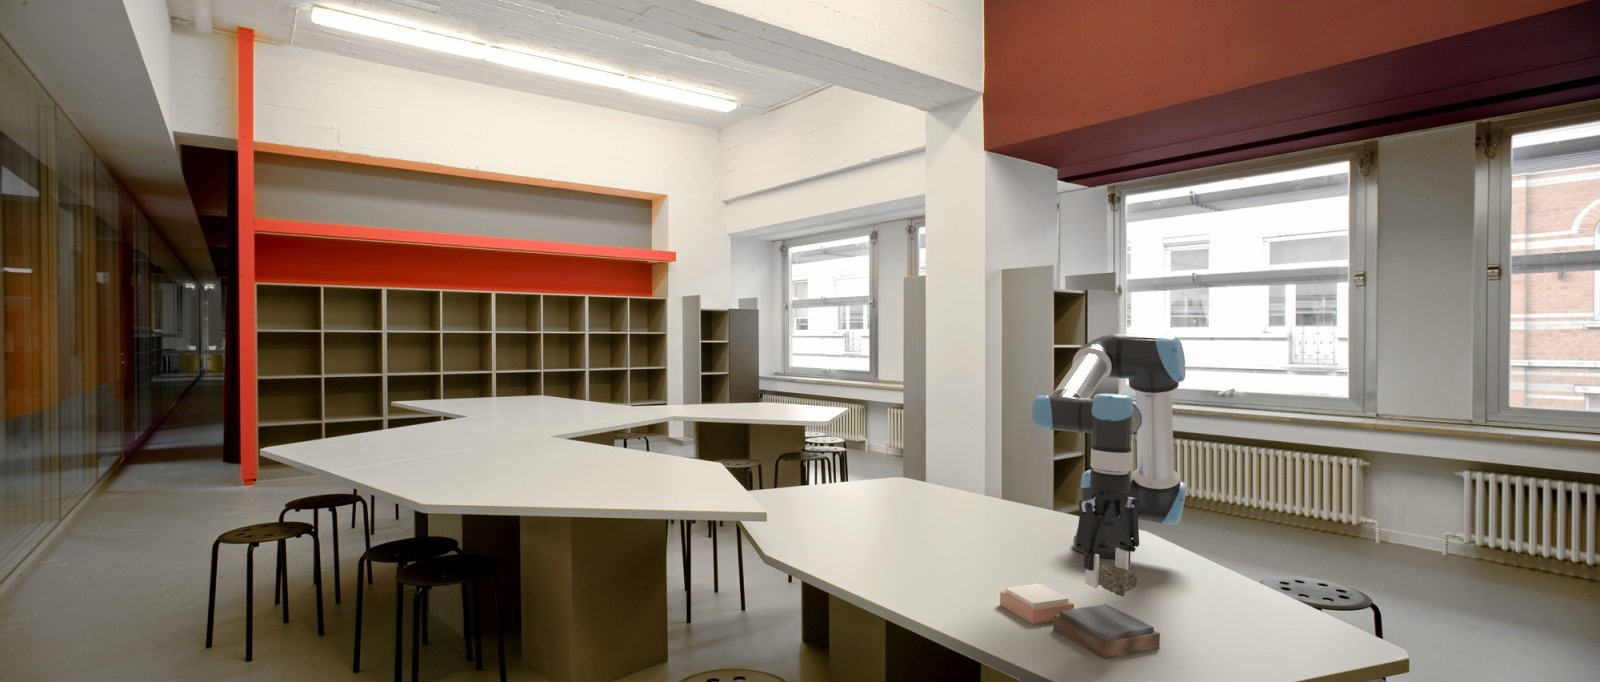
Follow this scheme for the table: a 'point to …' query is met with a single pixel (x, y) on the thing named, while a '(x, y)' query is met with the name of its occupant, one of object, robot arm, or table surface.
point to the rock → (1116, 579)
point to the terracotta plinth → (1034, 602)
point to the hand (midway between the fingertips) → (1106, 583)
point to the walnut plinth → (1106, 631)
